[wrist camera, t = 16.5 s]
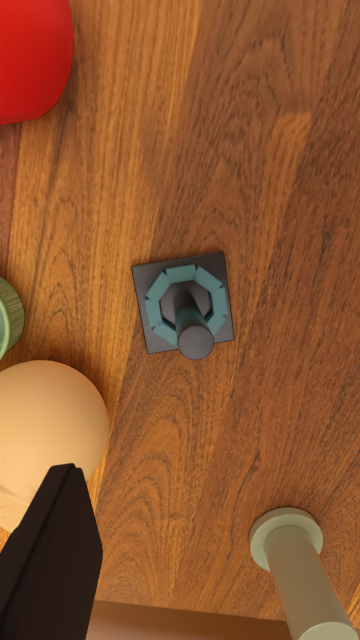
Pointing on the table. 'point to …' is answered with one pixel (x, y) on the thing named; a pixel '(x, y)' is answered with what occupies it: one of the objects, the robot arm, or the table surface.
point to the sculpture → (45, 430)
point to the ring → (180, 275)
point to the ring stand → (300, 574)
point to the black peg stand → (184, 306)
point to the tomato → (33, 56)
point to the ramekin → (10, 317)
